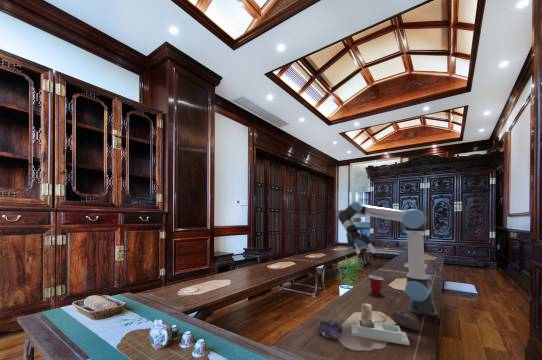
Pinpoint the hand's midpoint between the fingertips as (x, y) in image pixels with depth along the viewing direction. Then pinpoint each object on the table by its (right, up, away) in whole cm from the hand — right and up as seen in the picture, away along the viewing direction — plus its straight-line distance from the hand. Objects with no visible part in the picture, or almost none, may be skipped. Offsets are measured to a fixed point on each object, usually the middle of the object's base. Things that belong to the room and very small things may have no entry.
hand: (366, 252), depth 166 cm
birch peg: (-14, -29, -36) cm, 48 cm away
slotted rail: (-8, -31, -38) cm, 50 cm away
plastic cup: (+20, -41, +32) cm, 56 cm away
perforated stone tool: (+12, -33, -28) cm, 45 cm away
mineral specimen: (-32, -31, -37) cm, 58 cm away
